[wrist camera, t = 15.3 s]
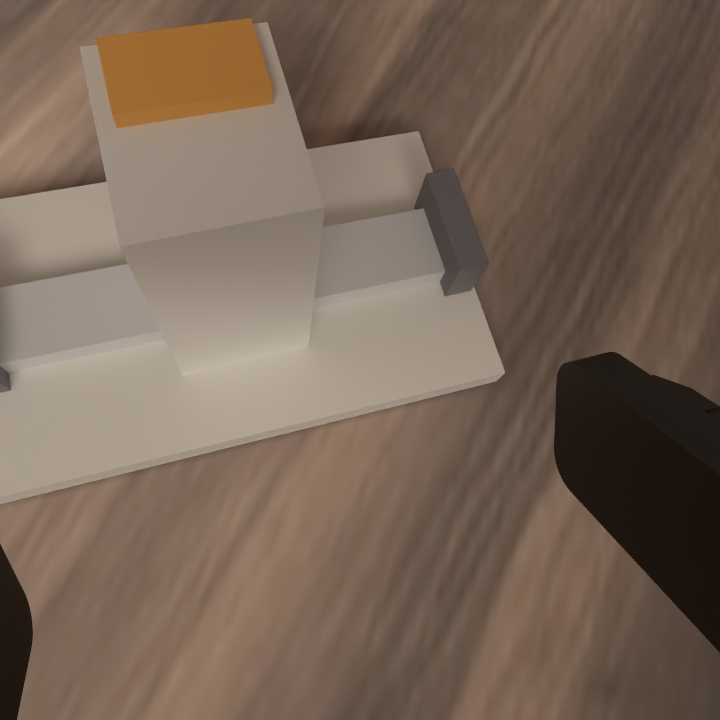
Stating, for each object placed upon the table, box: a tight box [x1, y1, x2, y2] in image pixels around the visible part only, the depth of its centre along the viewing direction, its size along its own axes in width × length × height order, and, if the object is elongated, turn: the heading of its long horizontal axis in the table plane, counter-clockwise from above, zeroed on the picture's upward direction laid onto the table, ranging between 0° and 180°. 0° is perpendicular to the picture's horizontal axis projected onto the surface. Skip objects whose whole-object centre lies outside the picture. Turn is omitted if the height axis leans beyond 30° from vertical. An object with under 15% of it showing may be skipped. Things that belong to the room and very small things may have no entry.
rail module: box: [79, 18, 325, 376], centre depth 21 cm, size 5×6×11 cm
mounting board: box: [0, 131, 505, 504], centre depth 26 cm, size 20×12×4 cm, turn 105°
